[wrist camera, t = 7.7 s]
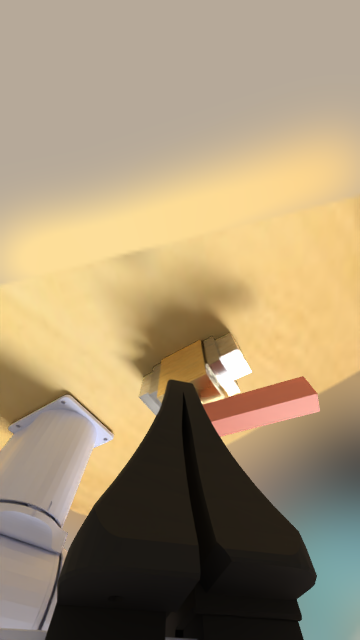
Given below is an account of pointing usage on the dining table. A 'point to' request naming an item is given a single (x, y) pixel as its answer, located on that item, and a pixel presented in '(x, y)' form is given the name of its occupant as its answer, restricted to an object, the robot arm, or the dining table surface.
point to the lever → (263, 406)
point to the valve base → (198, 371)
